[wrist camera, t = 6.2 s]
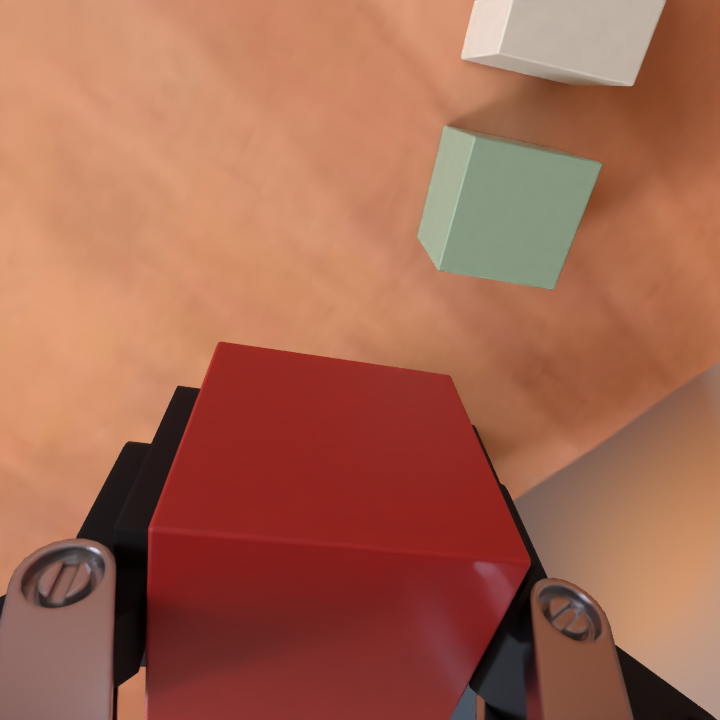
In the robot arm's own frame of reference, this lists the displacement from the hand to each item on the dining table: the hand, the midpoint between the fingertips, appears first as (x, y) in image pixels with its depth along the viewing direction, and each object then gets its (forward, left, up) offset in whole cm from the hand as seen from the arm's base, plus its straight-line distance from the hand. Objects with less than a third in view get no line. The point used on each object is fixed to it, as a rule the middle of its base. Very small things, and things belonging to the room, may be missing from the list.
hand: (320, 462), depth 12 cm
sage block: (-4, +7, -15) cm, 17 cm away
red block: (0, 0, 0) cm, 0 cm away
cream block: (-12, +7, -15) cm, 20 cm away
